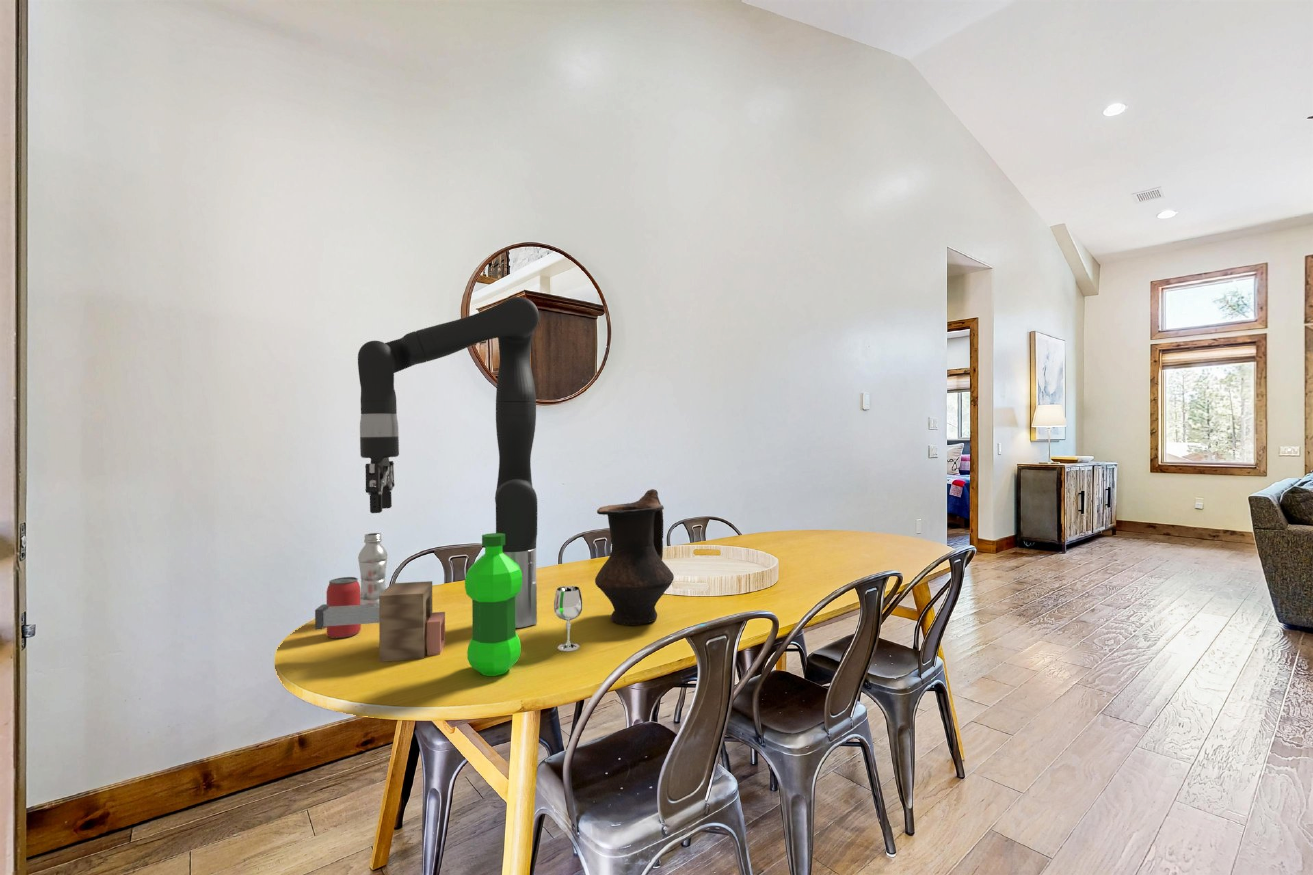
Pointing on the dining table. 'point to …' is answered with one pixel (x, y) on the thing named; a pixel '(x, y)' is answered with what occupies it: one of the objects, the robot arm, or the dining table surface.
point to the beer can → (343, 603)
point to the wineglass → (568, 610)
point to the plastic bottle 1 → (372, 569)
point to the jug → (635, 560)
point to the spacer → (436, 633)
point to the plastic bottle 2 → (493, 608)
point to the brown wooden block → (404, 620)
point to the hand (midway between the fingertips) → (381, 510)
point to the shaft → (346, 615)
